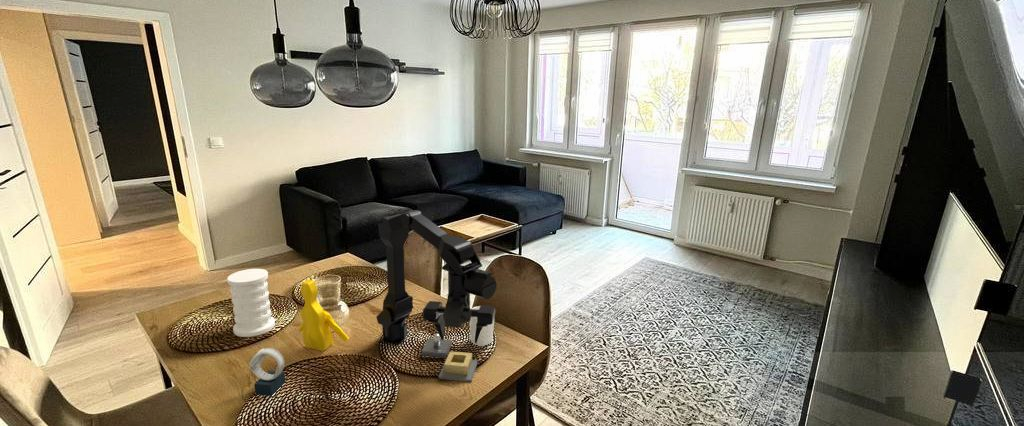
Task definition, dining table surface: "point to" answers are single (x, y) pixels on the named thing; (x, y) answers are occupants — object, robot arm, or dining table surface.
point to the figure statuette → (316, 320)
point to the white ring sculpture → (270, 379)
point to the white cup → (481, 332)
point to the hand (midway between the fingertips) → (459, 340)
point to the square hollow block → (458, 363)
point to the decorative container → (250, 302)
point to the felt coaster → (460, 378)
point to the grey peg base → (436, 347)
